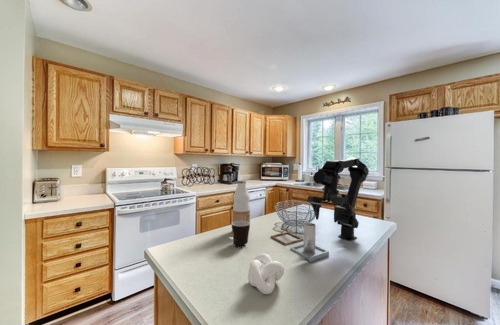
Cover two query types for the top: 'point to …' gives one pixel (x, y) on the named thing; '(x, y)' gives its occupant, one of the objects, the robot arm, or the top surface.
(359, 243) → the top surface
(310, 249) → the scoop cup
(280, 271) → the white knot sculpture
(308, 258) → the grey tray
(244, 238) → the coffee mug
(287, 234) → the walnut tray
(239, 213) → the fruit juice
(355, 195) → the robot arm
